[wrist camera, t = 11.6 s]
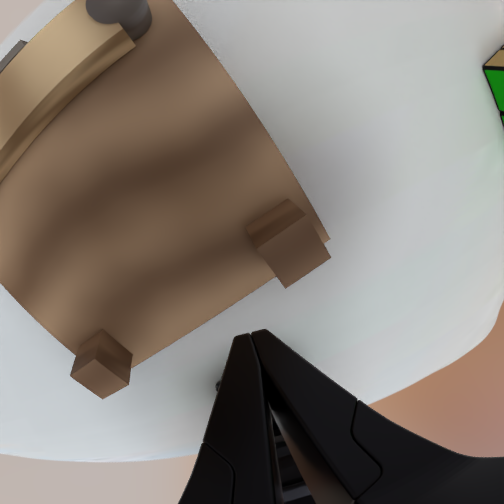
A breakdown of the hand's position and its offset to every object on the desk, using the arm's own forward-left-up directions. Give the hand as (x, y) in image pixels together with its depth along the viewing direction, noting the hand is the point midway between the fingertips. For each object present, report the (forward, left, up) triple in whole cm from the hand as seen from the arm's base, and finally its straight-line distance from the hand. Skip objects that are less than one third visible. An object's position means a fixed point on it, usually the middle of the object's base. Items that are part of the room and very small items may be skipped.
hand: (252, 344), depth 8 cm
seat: (+4, +5, -12) cm, 13 cm away
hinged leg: (+12, +3, -10) cm, 16 cm away
